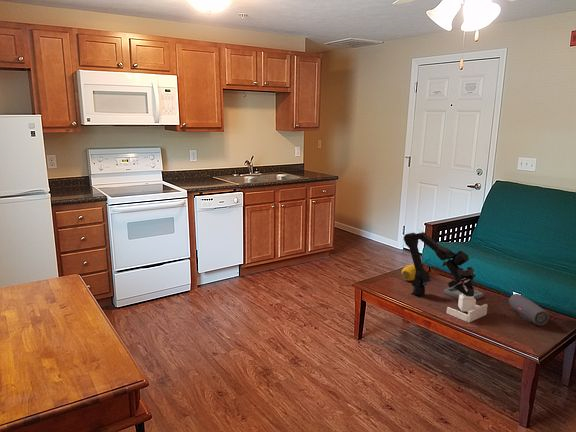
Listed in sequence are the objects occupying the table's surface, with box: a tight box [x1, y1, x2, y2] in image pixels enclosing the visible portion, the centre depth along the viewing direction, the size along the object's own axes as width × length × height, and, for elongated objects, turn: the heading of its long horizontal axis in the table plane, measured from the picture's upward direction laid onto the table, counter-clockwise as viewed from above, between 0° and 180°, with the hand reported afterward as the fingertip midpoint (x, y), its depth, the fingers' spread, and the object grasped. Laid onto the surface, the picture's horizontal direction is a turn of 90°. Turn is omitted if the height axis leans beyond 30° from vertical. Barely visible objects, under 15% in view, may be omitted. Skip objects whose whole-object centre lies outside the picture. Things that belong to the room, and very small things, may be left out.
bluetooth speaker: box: [508, 293, 550, 326], centre depth 236 cm, size 23×9×10 cm, turn 5°
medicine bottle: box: [457, 288, 477, 313], centre depth 240 cm, size 7×7×12 cm
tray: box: [443, 285, 484, 300], centre depth 267 cm, size 16×16×2 cm
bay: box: [446, 303, 489, 323], centre depth 241 cm, size 14×17×6 cm
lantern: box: [398, 263, 425, 282], centre depth 291 cm, size 10×10×30 cm
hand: (470, 294), depth 238 cm, fingers closed on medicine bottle, 6 cm apart
